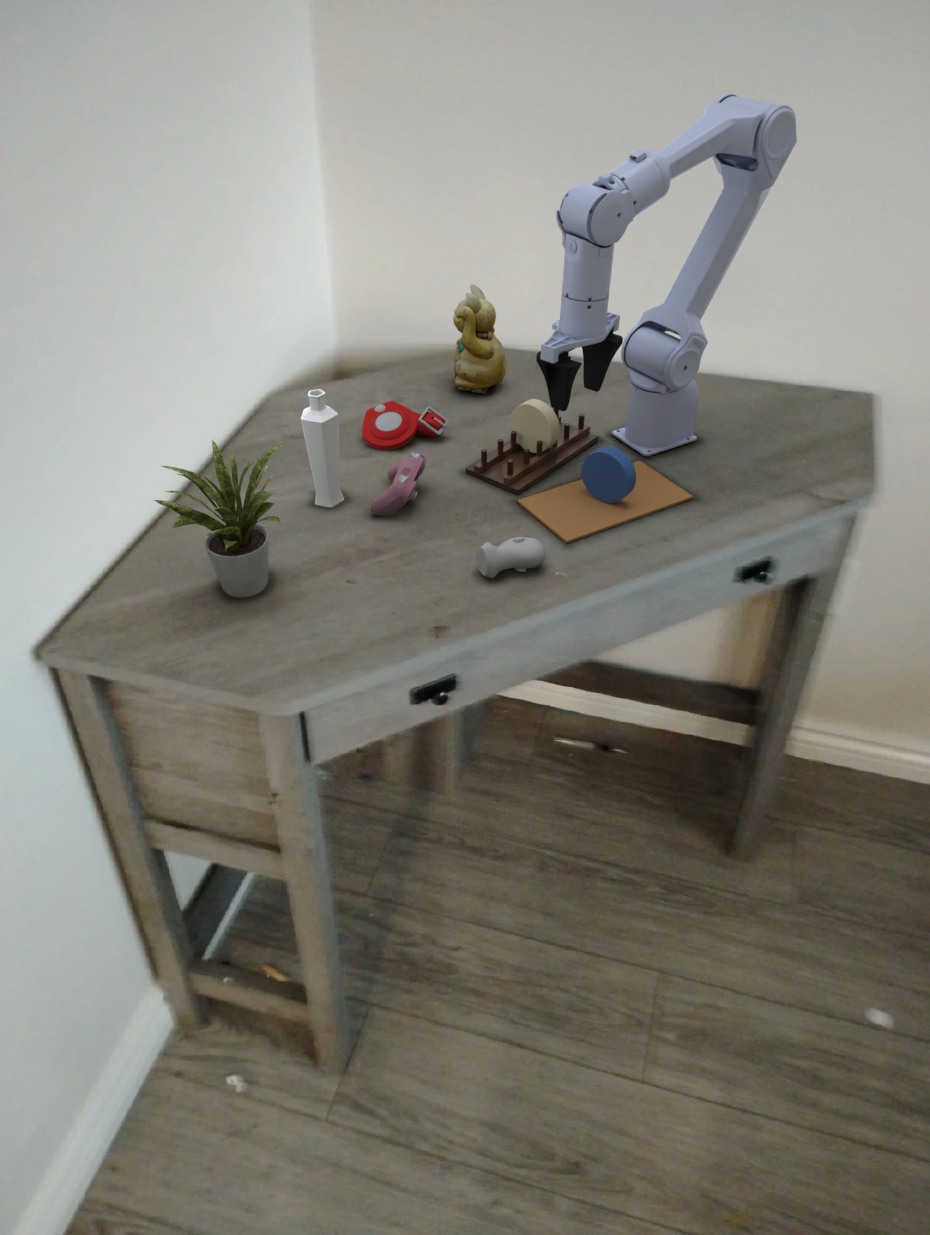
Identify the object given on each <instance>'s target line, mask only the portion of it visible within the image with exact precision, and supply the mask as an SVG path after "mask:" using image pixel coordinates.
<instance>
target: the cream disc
mask: <svg viewBox="0 0 930 1235" xmlns="http://www.w3.org/2000/svg"><path fill="white" fill-rule="evenodd" d="M509 427H510V432H512V431H516V432H517V438H516V441H517V443H518V444H519V445H520V446H521V447H522V448H524V449H529V450H530V452H532V453H536V448H537V441H542V442H543V446H542V452H543V451H545V450H546V449H548V448H549V447H551V446H552V445H554V444H555V443H556V441H557V440H558V437H559V434H560V425H559V421H558V418H557V416H556V414H555V412H554V411H553V408H552V407H551V405H549V404H548V403H546V402H545V401H543V400H540V399H537V398H530V399H527V400H525V401H523V402H522V403H521V404H519V405H517V406H516V407H514V409H513V410H512V412H511V414H510V419H509Z"/></svg>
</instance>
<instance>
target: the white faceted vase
mask: <svg viewBox="0 0 930 1235" xmlns="http://www.w3.org/2000/svg"><path fill="white" fill-rule="evenodd" d="M307 392H308V393H307V397H308V400H309V406H308V407H305V408H303V411H302V413H301V417H300V422H301V426H302V432H303V436H304V441H305V442H304V443H305V447H306V451H307V456H308V460H309V465H310V470H311V475H312V480H313V484H314V490H315V498H314V505H315V506H320V507H326V508H334V507H335V506H337V505H339V504H340V503H342V502H343V501H345V497H344V495H343V492H342V490H341V475H340V474H341V473H340V472H341V470H340V434H339V433H340V432H339V431H340V429H339V428H340V427H339V412H337V411H336V410H334V409H333V408H332V407H330V405H326V396H325V395H326V392H325V391H324V390H323V389H322V388H317V389H311V390H308V391H307Z"/></svg>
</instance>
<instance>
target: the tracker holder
mask: <svg viewBox="0 0 930 1235" xmlns="http://www.w3.org/2000/svg"><path fill="white" fill-rule="evenodd" d="M449 424H450V420H449V419H448V418H446V417H445V416H444V415H442V414H441V413H439V412H438V411H436V410H435V409H434V408H432V407H431V406H430V405H428V406H427V407H426V408H425V410H424V411H423V412H422V413H418V412H416V411H413V410H411V409H410V408H408V407H407V406H405V405H404V404H401V403H399V402H397V401H394V400H389V401H386V402H384V403H380V404H378V405H375V406H373V407H371V408H368V409H367V410H366V411H365V414H364V418H363V422H362V437H363V441H364V442H365V443H366V444H367V445H369V447H372V448H374V449H375V450H382V451H389V450H395V449H399V448H400V447H402V446H405V445H406V444H408V443H409V442H410V441H411V440H412V439H413V438H414V437H415V435H416V434H418V435H420V436H425V437H438V436H441V435H442V433H443V432H444V431H445V429H446V428H447V427H448V425H449Z"/></svg>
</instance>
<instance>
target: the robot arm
mask: <svg viewBox="0 0 930 1235" xmlns="http://www.w3.org/2000/svg"><path fill="white" fill-rule="evenodd" d="M796 118H797V117H796V115H795V111H794V109H793V108H792V107H791V106H790V105H788V104H782V103H781V104H780V103H779V104H776V103H771V102H764V101H762V100H756V99H751V98H745V97H742V96H741V97H740V96H738V95H736V94H733V93H726V94H723V95H721V96H719V98H717V99H716V100H715V101H713V102H711V103H709V104H706V106H705V108H704V111H703V114H702V116H701V117H700V118H699V119H698V120H697V121H695V122H694V123H693V124H691V125H690V126H689V127H688V128H686V129H685V130H684V131H683V132H681V133H680V134H679V135H678V136H676V137H674V139H672V140H671V141H670V142H668V143H667V144H666V145H665V146H663V147H662V148H661V149H660V150H658V151H657V152H655V151H653V150H649V149H643V150H640V149H635V150H633V151H632V152H631V153H629V154H628V159H627V160H625V161H624V162H622V163H620V164H619V165H618V166H616V167H614V168H612V169H611V170H610V171H608V172H603V173H602V174H600V175H599V176H598V179H596V180H595V181H594V182H592V184H591V183H588V182H580V183H578V184H576V185H574V186H573V187H572V188H570V189H569V190H568V191H567V192H565V194H564V196H563V197H562V200H561V202H560V206H559V209H557V210H556V211H555V217H556V218H555V219H556V223H557V226H558V228H559V229H560V231H561V234H562V239H561V240H562V241H561V244H562V245H561V246H562V247H563V249H564V255H563V256H564V258H563V268H562V283H561V297H560V309H559V319H558V320H555V321H554V322H552V325H551V329H552V330H554V331H553V333H552V334H551V335H550V337H548V339H547V340H546V341H545V342H543V343H541V346H540V351H538V352H536V357H535V358H536V359H535V361H536V364H537V365H538V367H539V368H540V371H541V373H542V375H543V378H544V380H545V383H546V384H545V385H546V388H547V392H548V397H549V403H550V407H551V408H552V409H553V408H555V409H558V410H559V411H561V412H566V411H568V408H569V404H570V401H571V396H572V390H573V385H574V382H575V379H576V376H577V374H578V371H579V370H580V368H581V366H582V365H583V371H582V372H583V376H582V377H583V378H582V379H583V388H584V389H587V390H590V391H593V392H596V393H598V392H600V391H601V389H602V387H603V384H604V380H605V378H606V375H607V372H608V370H609V368H610V366H611V365H610V364H611V362H612V360H613V359H614V358H615V355H616V354H617V352H618V351H619V349H620V348H621V351H620V357H621V361H622V363H623V365H624V366H625V367H626V368H627V377H629V378H630V383H629V392H628V401H627V410H626V420H625V426H624V427H621V428H617V429H614V430H612V431H611V435H612V436H613V437H615V438H617V439H618V440H619V441H621V442H622V443H624V444H625V445H627V446H629V447H630V448H632V449H633V450H635V451H636V452H638V453H639V454H641V455H642V456H644V457H650V456H653V455H656V454H659V453H662V452H665V451H668V450H671V449H674V448H677V447H680V446H683V445H687V444H690V443H693V442H695V441H697V439H698V437H697V436H696V435H694V432H695V424H696V419H697V414H698V413H697V412H698V406H699V401H700V392H699V388H698V385H697V383H696V381H695V377H696V376H697V374H698V371H699V369H700V366H701V362H702V356H703V354H704V351H705V349H706V347H707V346H708V343H709V341H708V338H707V336H706V334H705V331H704V328H703V326H702V324H701V320H702V318H703V316H704V315H705V313H706V311H707V309H708V307H709V305H710V303H711V302H712V300H713V299H714V296H715V294H716V293H717V290H718V288H719V287H720V285H721V283H722V281H723V279H724V278H725V276H726V274H727V272H728V270H729V268H730V266H731V264H732V262H733V261H734V259H735V257H736V255H737V253H738V251H739V249H740V247H741V246H742V244H743V242H744V240H745V238H746V236H747V234H748V233H749V231H750V229H751V227H752V225H753V223H754V222H755V220H756V217H757V215H758V214H759V212H760V210H761V208H762V207H763V205H764V202H765V201H766V200H767V197H768V196H769V193H770V191H771V188H772V187H774V185H775V183H776V181H777V180H778V178H779V175H780V174H781V172H782V170H783V168H784V166H785V164H786V162H787V160H788V159H789V157H790V156H791V153H792V151H793V150H794V147H795V146H796V144H797V141H798V139H797V119H796ZM710 158H712V160H713V163H714V166H715V168H716V171H717V172H718V174H719V175H721V177H722V182H723V183H722V184H723V188H722V191H721V192H720V193H719V196H718V198H717V200H716V202H715V204H714V206H713V208H712V209H711V211H710V214H709V215H708V217H707V219H706V221H705V223H704V225H703V227H702V229H701V231H700V233H699V235H698V236H697V239H696V241H695V242H694V244H693V246H692V247H691V250H690V252H689V254H688V256H687V257H686V260H685V261H684V263H683V266H682V268H680V271H679V273H678V275H677V277H676V279H675V281H674V283H673V285H672V287H671V288H670V291H669V292H668V294H667V296H666V297H665V300H664V302H663V303H661V304H659V305H657V306H654V307H651V308H649V309H647V310H645V311H644V312H642V315H641V317H640V319H639V320H638V322H637V323H636V324H635V326H634V327H632V328H631V329H630V331H629V332H628V333H627V334H626V336H625V337H623V336H622V335H619V334H615V333H614V332H617V331H619V328H620V320H621V315H620V314H616V313H613V312H610V311H608V310H609V309H608V308H609V299H610V290H611V283H612V282H611V280H612V274H613V273H612V272H613V264H614V263H613V262H614V253H615V246H616V245H615V243H618V242H619V241H620V240H621V239H622V237H623V236H624V235H625V232H626V230H627V228H628V227H629V225H630V224H631V223H632V222H634V219H635V217H636V216H638V215H639V214H641V213H642V212H643V211H645V210H647V209H648V208H649V207H651V206H653V205H654V204H656V203H657V202H658V201H660V200H662V199H663V198H665V196H667V194H668V193H669V191H670V190H669V189H670V187H671V181H672V180H674V179H676V178H677V177H679V176H681V175H682V174H685V173H686V172H688V171H690V170H692V169H693V168H695V167H697V166H699V165H700V164H702V163H703V162H706V161H707V160H709V159H710ZM667 332H670V333H672V334H675V335H677V336H679V337H680V338H679V337H676V336H673V335H672V334H669V333H667ZM579 348H581V350H582V357H583V358H582V359H583V363H582V362H580V361H576V360H573V359H572V357H571V356H570V355H569V354H570V352H572V351H573V350H575V349H579Z"/></svg>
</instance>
